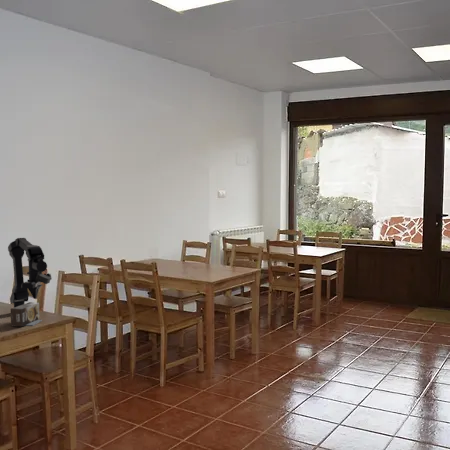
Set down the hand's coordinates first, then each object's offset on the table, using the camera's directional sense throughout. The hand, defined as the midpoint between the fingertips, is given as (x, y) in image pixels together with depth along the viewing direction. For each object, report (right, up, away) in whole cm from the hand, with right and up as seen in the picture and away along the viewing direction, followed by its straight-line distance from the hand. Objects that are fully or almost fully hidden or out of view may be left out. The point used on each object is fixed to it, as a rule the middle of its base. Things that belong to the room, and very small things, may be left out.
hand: (35, 298), depth 290 cm
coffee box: (0, -6, 0) cm, 6 cm away
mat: (-1, -12, -7) cm, 14 cm away
